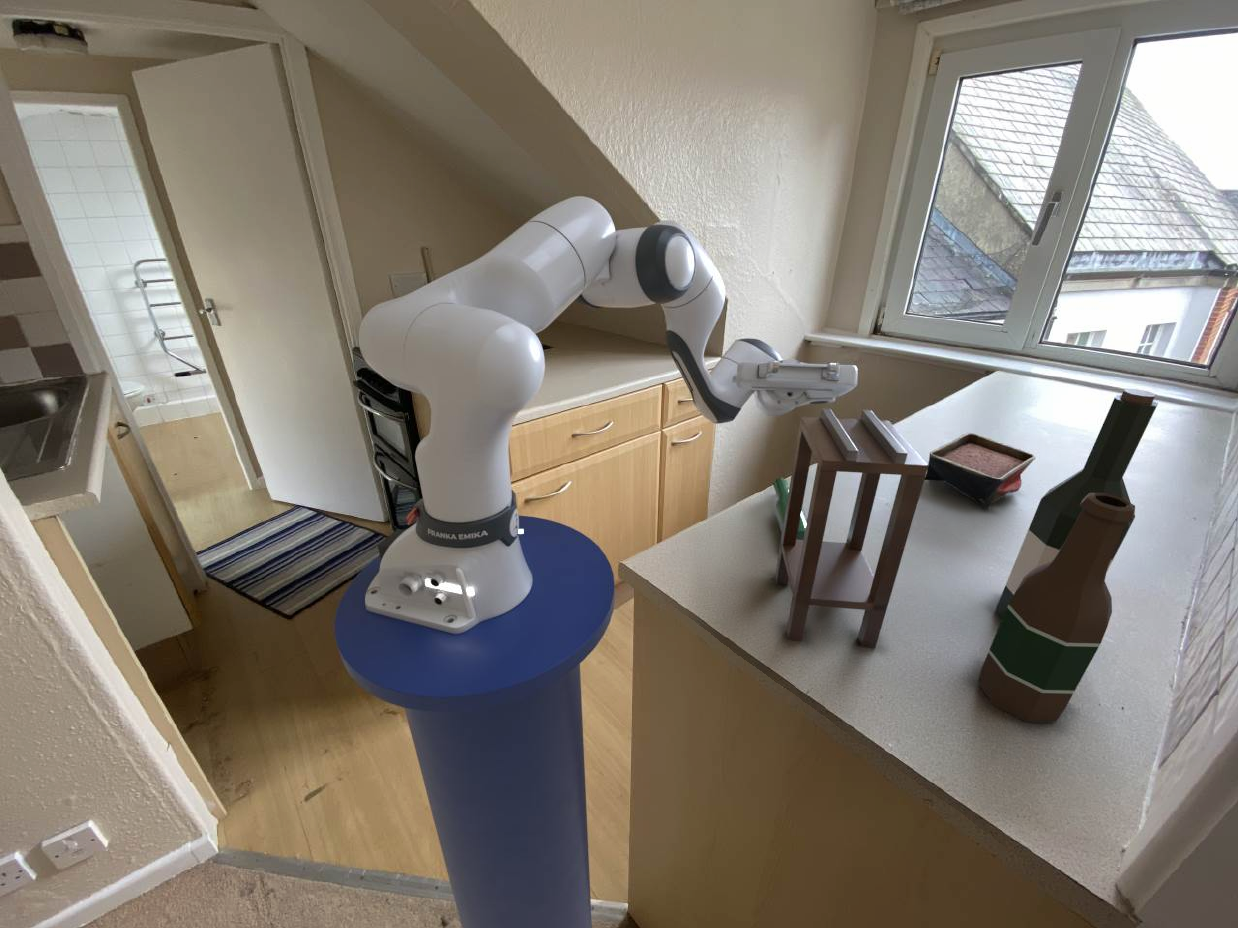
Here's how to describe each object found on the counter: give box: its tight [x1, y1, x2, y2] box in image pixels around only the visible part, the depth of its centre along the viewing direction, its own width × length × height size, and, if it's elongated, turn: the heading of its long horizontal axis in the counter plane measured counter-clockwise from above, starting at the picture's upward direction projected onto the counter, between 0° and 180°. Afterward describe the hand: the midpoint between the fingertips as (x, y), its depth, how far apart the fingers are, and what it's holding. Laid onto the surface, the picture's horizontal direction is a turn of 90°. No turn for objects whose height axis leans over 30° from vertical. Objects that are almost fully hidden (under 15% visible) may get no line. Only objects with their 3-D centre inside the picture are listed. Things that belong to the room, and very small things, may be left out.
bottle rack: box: [774, 407, 928, 649], centre depth 62 cm, size 10×12×25 cm
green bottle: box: [772, 477, 808, 540], centre depth 86 cm, size 18×4×4 cm, turn 174°
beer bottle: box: [977, 493, 1136, 724], centre depth 51 cm, size 8×8×24 cm
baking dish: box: [924, 432, 1036, 511], centre depth 95 cm, size 14×18×10 cm
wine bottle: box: [994, 388, 1159, 620], centre depth 59 cm, size 8×8×30 cm
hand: (804, 366), depth 86 cm, fingers open, 8 cm apart
